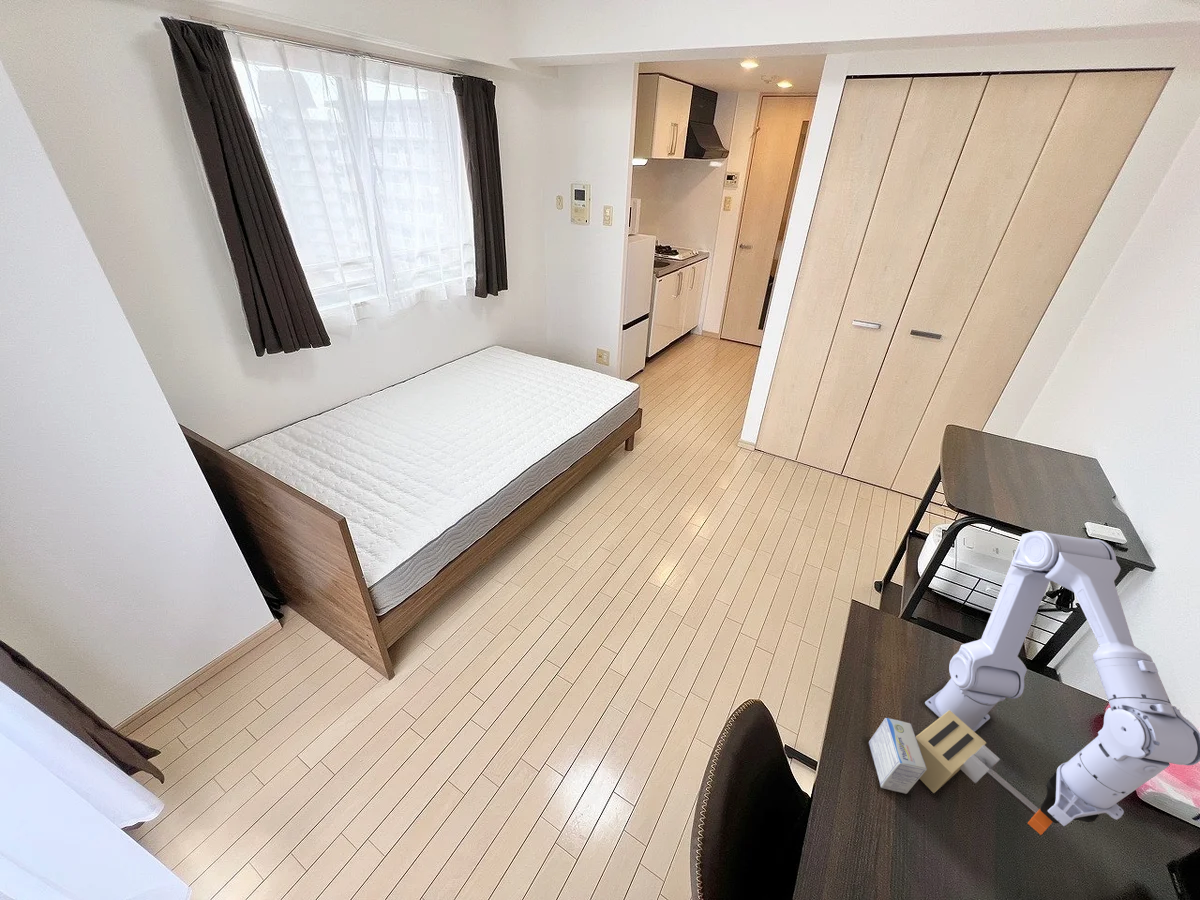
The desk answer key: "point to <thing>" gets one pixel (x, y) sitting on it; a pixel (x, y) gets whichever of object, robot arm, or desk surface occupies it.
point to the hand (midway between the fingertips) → (1049, 814)
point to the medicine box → (897, 756)
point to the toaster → (952, 752)
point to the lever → (1021, 802)
